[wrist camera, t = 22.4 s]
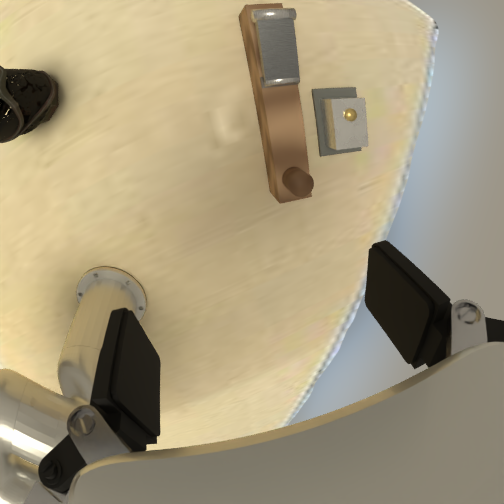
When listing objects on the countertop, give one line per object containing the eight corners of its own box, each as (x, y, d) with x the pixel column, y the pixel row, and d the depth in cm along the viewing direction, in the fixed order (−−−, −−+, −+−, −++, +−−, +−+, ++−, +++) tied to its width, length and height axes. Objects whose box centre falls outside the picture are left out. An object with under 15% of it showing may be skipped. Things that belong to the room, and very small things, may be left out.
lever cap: (355, 142, 38) (369, 146, 35) (325, 145, 38) (337, 150, 35) (351, 97, 35) (365, 98, 32) (319, 98, 34) (332, 99, 31)
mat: (360, 150, 40) (361, 150, 39) (319, 155, 39) (321, 156, 39) (354, 87, 34) (355, 87, 34) (311, 89, 34) (312, 89, 34)
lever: (303, 83, 27) (295, 7, 21) (264, 87, 27) (253, 8, 21) (298, 81, 29) (290, 8, 22) (260, 85, 28) (249, 10, 22)
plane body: (298, 185, 41) (320, 204, 34) (270, 191, 40) (287, 212, 34) (271, 14, 27) (289, -5, 21) (238, 16, 27) (250, -4, 20)
